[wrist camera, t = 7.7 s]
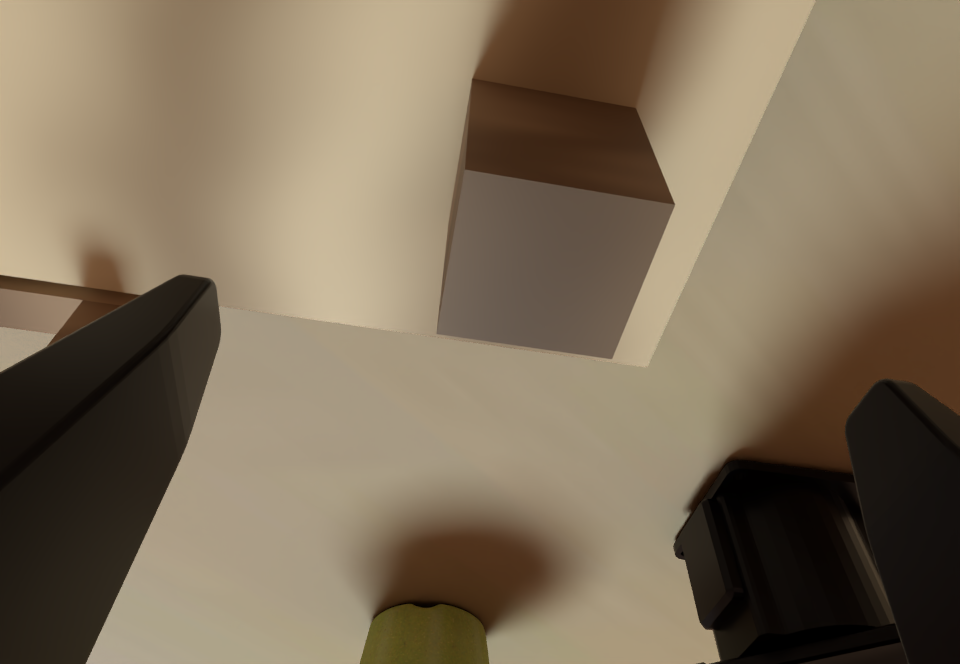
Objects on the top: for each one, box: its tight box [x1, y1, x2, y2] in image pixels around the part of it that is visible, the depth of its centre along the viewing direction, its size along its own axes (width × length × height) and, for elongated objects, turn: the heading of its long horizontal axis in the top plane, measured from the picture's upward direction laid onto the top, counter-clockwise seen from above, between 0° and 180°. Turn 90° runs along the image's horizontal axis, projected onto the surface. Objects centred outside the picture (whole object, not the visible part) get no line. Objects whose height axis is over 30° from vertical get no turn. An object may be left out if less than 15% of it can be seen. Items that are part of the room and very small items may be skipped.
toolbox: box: [0, 275, 140, 346], centre depth 13 cm, size 20×12×7 cm, turn 80°
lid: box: [0, 0, 816, 367], centre depth 11 cm, size 20×9×4 cm, turn 80°
